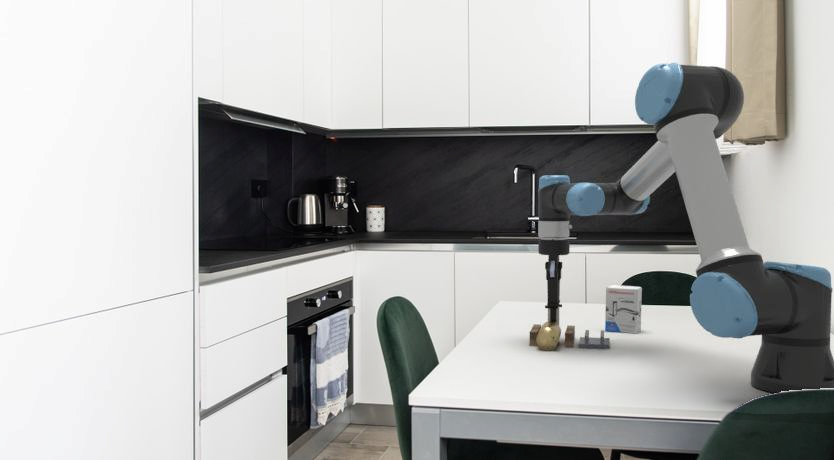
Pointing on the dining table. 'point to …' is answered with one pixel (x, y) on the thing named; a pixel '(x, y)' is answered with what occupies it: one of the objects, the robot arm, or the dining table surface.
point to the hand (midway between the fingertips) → (553, 334)
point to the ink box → (623, 309)
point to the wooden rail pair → (568, 335)
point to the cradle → (594, 341)
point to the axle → (548, 336)
